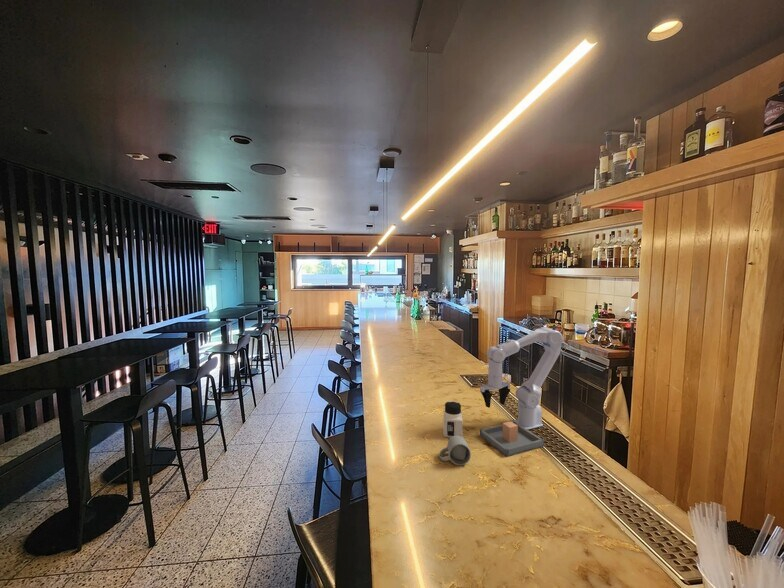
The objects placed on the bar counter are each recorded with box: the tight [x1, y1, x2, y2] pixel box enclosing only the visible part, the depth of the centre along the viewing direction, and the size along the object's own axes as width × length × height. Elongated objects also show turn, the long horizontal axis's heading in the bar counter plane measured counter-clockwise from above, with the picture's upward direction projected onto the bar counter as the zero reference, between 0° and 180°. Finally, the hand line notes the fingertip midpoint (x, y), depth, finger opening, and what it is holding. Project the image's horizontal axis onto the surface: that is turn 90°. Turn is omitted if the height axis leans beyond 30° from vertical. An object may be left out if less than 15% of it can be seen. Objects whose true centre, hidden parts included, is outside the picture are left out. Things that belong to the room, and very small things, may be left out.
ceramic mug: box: [438, 435, 472, 466], centre depth 113 cm, size 11×8×8 cm
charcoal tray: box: [479, 421, 545, 458], centre depth 124 cm, size 18×16×2 cm
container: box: [442, 400, 464, 438], centre depth 131 cm, size 8×8×13 cm
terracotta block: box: [502, 421, 518, 442], centre depth 124 cm, size 4×4×6 cm
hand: (495, 405), depth 135 cm, fingers open, 7 cm apart
